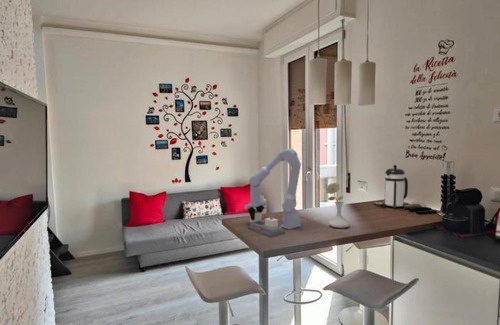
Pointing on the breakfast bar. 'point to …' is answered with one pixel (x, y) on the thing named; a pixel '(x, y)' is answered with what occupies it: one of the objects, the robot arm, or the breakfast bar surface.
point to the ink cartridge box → (264, 212)
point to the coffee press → (395, 187)
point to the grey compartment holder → (267, 227)
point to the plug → (257, 216)
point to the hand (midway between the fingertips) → (255, 219)
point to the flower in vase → (338, 219)
